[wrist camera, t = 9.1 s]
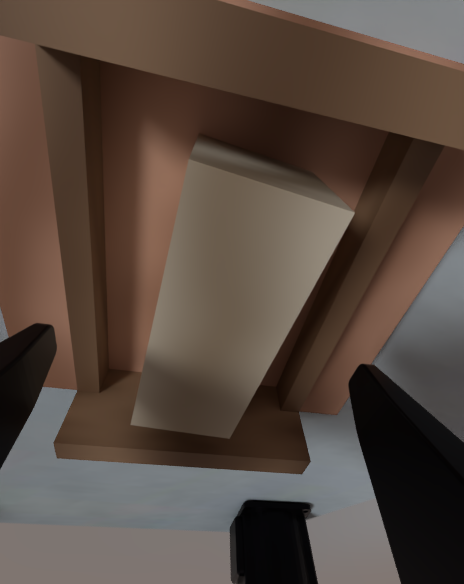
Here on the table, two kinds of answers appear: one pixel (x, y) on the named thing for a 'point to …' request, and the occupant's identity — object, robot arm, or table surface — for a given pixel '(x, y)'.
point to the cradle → (168, 186)
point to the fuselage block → (232, 284)
